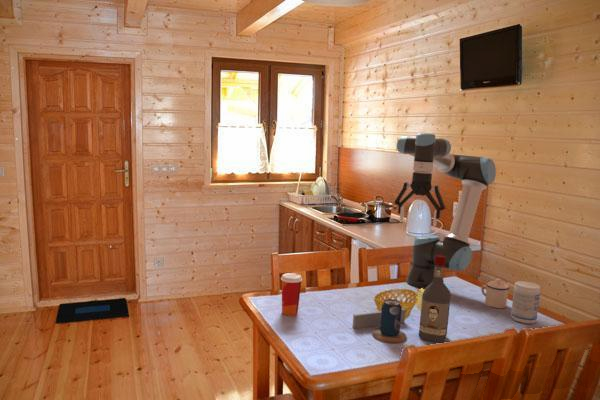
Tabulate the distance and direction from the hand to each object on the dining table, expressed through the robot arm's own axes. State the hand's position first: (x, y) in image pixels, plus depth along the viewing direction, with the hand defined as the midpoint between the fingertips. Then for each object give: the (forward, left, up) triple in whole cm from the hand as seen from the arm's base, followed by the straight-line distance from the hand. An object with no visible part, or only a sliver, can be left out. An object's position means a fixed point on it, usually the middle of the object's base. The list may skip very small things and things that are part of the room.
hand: (417, 224), depth 213 cm
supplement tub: (+26, +36, -35) cm, 57 cm away
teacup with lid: (+8, +37, -35) cm, 51 cm away
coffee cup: (-6, -52, -35) cm, 63 cm away
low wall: (+14, -24, -35) cm, 44 cm away
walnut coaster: (+24, -26, -35) cm, 50 cm away
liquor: (+29, -11, -35) cm, 47 cm away
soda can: (+24, -26, -34) cm, 49 cm away
